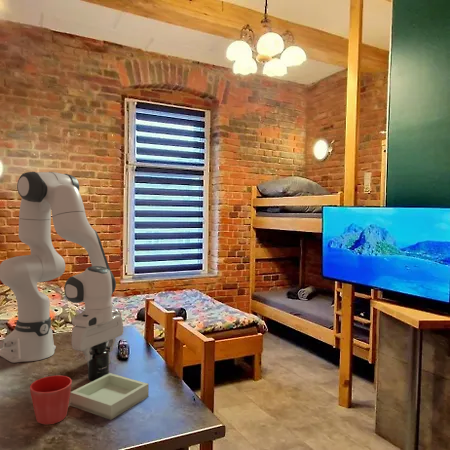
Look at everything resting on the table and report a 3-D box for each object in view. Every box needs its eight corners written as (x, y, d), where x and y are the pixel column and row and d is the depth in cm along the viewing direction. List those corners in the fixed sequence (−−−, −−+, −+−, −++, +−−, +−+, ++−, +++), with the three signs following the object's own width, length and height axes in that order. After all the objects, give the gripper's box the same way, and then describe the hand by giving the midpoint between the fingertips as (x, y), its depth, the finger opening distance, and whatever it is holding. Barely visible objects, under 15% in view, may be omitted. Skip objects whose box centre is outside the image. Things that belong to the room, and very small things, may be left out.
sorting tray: (70, 405, 122) (70, 392, 122) (109, 385, 136) (109, 372, 136) (110, 419, 114) (110, 405, 114) (148, 396, 128) (148, 383, 128)
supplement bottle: (102, 383, 137) (102, 347, 136) (83, 381, 138) (83, 345, 138) (112, 375, 144) (112, 340, 143) (94, 373, 145) (94, 339, 144)
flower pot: (29, 431, 108) (29, 395, 107) (30, 412, 118) (30, 378, 117) (73, 423, 112) (72, 388, 111) (70, 405, 122) (70, 372, 122)
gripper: (114, 307, 150) (114, 345, 151) (68, 321, 132) (68, 364, 133) (127, 309, 147) (127, 348, 148) (82, 323, 129) (82, 367, 130)
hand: (99, 355), depth 140 cm, fingers open, 8 cm apart
